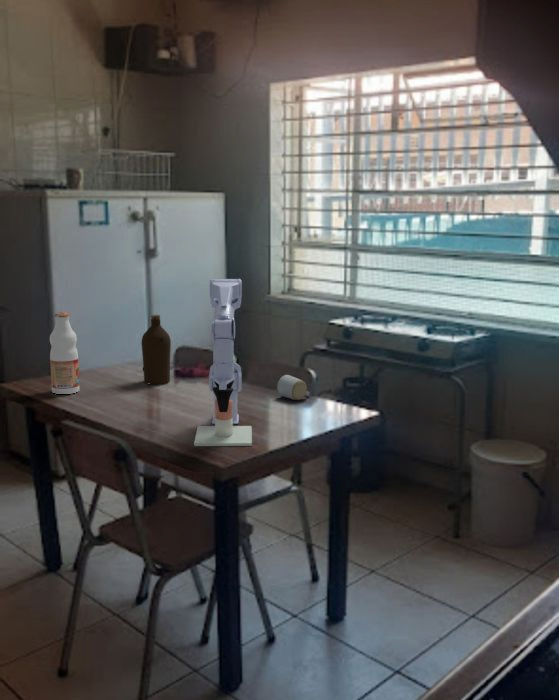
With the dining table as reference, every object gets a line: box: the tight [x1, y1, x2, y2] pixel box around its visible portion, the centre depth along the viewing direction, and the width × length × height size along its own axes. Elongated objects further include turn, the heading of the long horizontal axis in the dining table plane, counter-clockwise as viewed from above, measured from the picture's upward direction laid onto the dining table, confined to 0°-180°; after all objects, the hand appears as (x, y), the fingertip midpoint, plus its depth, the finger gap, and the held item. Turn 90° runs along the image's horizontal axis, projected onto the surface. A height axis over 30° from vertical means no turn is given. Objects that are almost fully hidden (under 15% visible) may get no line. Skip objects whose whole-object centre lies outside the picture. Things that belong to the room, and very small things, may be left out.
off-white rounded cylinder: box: [214, 418, 234, 437], centre depth 217 cm, size 5×5×5 cm
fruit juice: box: [49, 311, 80, 395], centre depth 263 cm, size 9×9×28 cm
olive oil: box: [141, 314, 172, 385], centre depth 279 cm, size 11×11×25 cm
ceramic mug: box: [276, 374, 310, 401], centre depth 261 cm, size 11×8×8 cm
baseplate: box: [193, 425, 253, 447], centre depth 218 cm, size 16×16×1 cm
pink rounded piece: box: [215, 399, 233, 420], centre depth 216 cm, size 5×5×5 cm
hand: (223, 408), depth 216 cm, fingers open, 7 cm apart
